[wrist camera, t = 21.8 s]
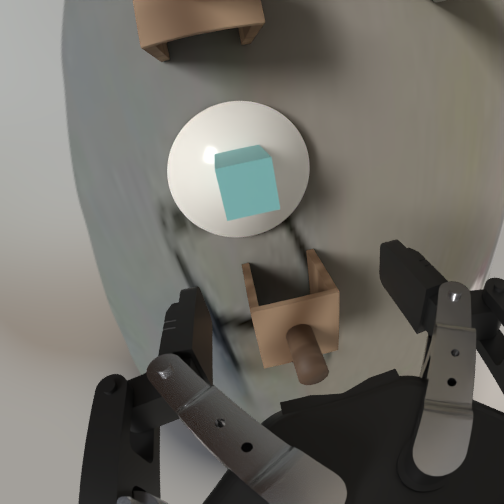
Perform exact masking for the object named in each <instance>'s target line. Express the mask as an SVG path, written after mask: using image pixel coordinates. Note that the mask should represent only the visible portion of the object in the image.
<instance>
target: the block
mask: <svg viewBox="0 0 504 504" xmlns="http://www.w3.org/2000/svg"><path fill="white" fill-rule="evenodd" d="M214 161H215V173H216V177H217V181H218V185H219V189H220V193H221V197H222V202H223V206H224V210H225V214H226V218H227V221H230V220H234V219H239V218H243V217H247V216H252V215H256V214H261V213H265V212H270V211H275V210H279V209H280V204H279V197H278V191H277V185H276V180H275V174H274V168H273V162H272V157H271V156H270V155H269V154H268V153H267V152H266V151H265V150H264V149H263V148H262V147H261V146H260V145H254V146H249V147H244V148H240V149H235V150H230V151H226V152H222V153H217V154H214Z"/></svg>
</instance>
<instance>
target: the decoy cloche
mask: <svg viewBox="0 0 504 504" xmlns="http://www.w3.org/2000/svg"><path fill="white" fill-rule="evenodd" d="M306 252H307V263H308V274H309V286H310V295H306V296H302V297H298V298H294V299H289V300H285V301H281V302H276V303H272V304H267V305H263V306H259V305H258V301H257V296H256V292H255V288H254V283H253V279H252V274H251V270H250V265H249V263H246V264H242V269H243V275H244V280H245V285H246V291H247V296H248V301H249V307H250V312H251V316H252V321H253V325H254V329H255V333H256V337H257V341H258V345H259V349H260V353H261V357H262V361H263V365H264V368H268V367H272V366H277V365H281V364H286V363H290V362H294V366H295V369H296V372H297V376H298V379H299V382H300V383H301V384H304V385H313V384H316V383H319V382H321V381H322V380H324V379H325V378H326V377H327V376H328V373H329V370H328V368H327V365H326V362H325V360H324V357H323V355H322V354H325V353H329V352H332V351H336V350H338V341H339V290H338V289H337V287H336V285H335V284H334V282H333V280H332V279H331V277H330V275H329V274H328V272H327V270H326V269H325V267H324V265H323V264H322V262H321V260H320V259H319V257H318V256H317V254H316V252H315V251H314V249H310V250H306Z"/></svg>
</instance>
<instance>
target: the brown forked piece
mask: <svg viewBox="0 0 504 504" xmlns="http://www.w3.org/2000/svg"><path fill="white" fill-rule="evenodd" d="M133 4H134V11H135V17H136V23H137V29H138V34H139V40H140V45H141V48H142V49H144V50H145V51H146V52H148V53H149V54H151V55H152V56H154V57H155V58H156V59H158V60H159V61H161V62H163V61H167V60H170V57H169V52H168V47H167V42H169V41H173V40H177V39H181V38H185V37H190V36H194V35H199V34H203V33H209V32H214V31H219V30H225V29H232V28H238V30H239V35H240V40H241V45H244V44H250V43H251V42H252V41H253V39H254V38H255V36H256V35H257V33H258V32H259V31H260V29H261V28H262V26H263V25H264V24H265V18H264V13H263V9H262V4H261V0H133Z"/></svg>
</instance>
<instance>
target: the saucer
mask: <svg viewBox="0 0 504 504" xmlns="http://www.w3.org/2000/svg"><path fill="white" fill-rule="evenodd" d="M254 145H260V146H261V147H262V148H263V149H264V150H265V151H266V152H267V153H268V154H269V155H270V156H271V157H272V162H273V168H274V174H275V180H276V185H277V191H278V197H279V204H280V209H279V210H275V211H270V212H265V213H261V214H256V215H252V216H247V217H243V218H239V219H234V220H230V221H227V218H226V214H225V210H224V206H223V202H222V197H221V193H220V189H219V185H218V181H217V177H216V173H215V161H214V154H217V153H222V152H226V151H230V150H235V149H240V148H244V147H249V146H254ZM309 172H310V165H309V156H308V151H307V148H306V145H305V142H304V140H303V138H302V136H301V134H300V133H299V131H298V130H297V128H296V127H295V126H294V125H293V124H292V122H291V121H290V120H288V119H287V118H286V117H285V116H284V115H282V114H281V113H279V112H278V111H276V110H275V109H272V108H270V107H268V106H266V105H263V104H260V103H255V102H250V101H230V102H225V103H220V104H217V105H214V106H212V107H209V108H207V109H205V110H204V111H202V112H200V113H199V114H197V115H196V116H195V117H193V118H192V119H191V120H190V121H189V122H188V123H187V124H186V125H185V126H184V127H183V129H182V130H181V131H180V132H179V134H178V136H177V137H176V139H175V141H174V143H173V146H172V148H171V151H170V155H169V159H168V167H167V173H168V183H169V187H170V191H171V194H172V196H173V198H174V200H175V202H176V204H177V206H178V207H179V209H180V210H181V211H182V212H183V214H184V215H185V216H186V217H187V218H188V219H189V220H190V221H192V222H193V223H194V224H196V225H197V226H198V227H200V228H202V229H204V230H206V231H208V232H211V233H213V234H216V235H221V236H226V237H247V236H253V235H257V234H260V233H263V232H266V231H268V230H270V229H272V228H274V227H275V226H277V225H278V224H280V223H281V222H283V221H284V220H285V219H286V218H287V217H288V216H289V215H290V214H291V213H292V212H293V211H294V210H295V208H296V207H297V206H298V204H299V203H300V201H301V199H302V197H303V195H304V193H305V190H306V188H307V184H308V180H309Z"/></svg>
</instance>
